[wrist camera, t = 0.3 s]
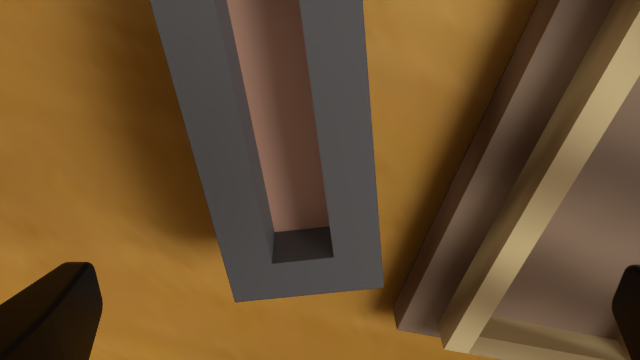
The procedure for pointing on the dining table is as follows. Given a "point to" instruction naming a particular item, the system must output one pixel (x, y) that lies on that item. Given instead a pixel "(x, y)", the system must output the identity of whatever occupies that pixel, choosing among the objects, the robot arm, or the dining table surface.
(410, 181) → the dining table surface
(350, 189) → the dark gray frame
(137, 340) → the dining table surface
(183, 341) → the dining table surface
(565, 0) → the walnut board
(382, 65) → the dining table surface
